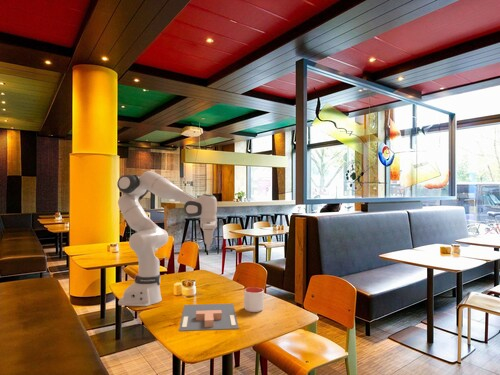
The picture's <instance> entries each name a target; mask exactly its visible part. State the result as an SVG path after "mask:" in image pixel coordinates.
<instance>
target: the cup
mask: <svg viewBox="0 0 500 375" xmlns="http://www.w3.org/2000/svg"><path fill="white" fill-rule="evenodd" d="M243 293H244V296H243V298H244V299H243V300H244V302H243V303H244V305H243V308H244V309H245V311H247V312H250V313H258V312H262V311H263V310H264V305H265V304H264V296H265V295H264V294H265V291H264V289H263V288H260V287H247V288H245V289H244V292H243Z"/></svg>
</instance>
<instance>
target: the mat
mask: <svg viewBox="0 0 500 375" xmlns="http://www.w3.org/2000/svg"><path fill="white" fill-rule="evenodd" d="M234 305H235V304H234V303H208V304H207V303H206V304H205V303H204V304H184V305H183V310H182V315H181V318H180V319H181V320H180V323H179V324H180V325H179V329H178V332H187V331H188V332H189V331H192V332H194V331H216V330H217V331H218V330H219V331H220V330H221V331H222V330H239V329H240V327H239V324H238V323H239V322H238V319H237V314H236V310H235V306H234ZM207 310H221V311H222V319H221V320H214V327H204V325H205V320H196V311H207Z"/></svg>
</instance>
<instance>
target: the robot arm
mask: <svg viewBox="0 0 500 375" xmlns="http://www.w3.org/2000/svg"><path fill="white" fill-rule="evenodd" d="M117 180H118V181H117V188H118V190H119V191H121V193H123V194H122V196H120V198H119V199H118V201H117V205H118V208H119V210H120V213H121V214H122V216H123V218H124V220H125V221H126V223H127V224H128V227H129V228H130V229H131V230H133V231H135V232H134V233H133V234H131V236H130V237H129V241H128V242H129V247H130V249H131V251H133V252H135V254H136V257H137V261H138V273H136V274H135V275H134V282H133V283H131V284H130V285H129V286H128V287H127V288H126V289H124V291H123V295H122V297H121V298H119V300H118V302H117V304H118V306H125V307H126V306H128V307H149V306H151V305H153V304H154V305H155V304H158V303H160V302H162V300H163V298H162V294H161V274H160V266H161V265H160V264H161V262H160V259H159V258H158V257H157V256H156V255H155V249H158V248H159V249H160V248H162V247H163V246H165V245H167V243H168V241H169V239H170V238H169V233H168V231H167V230H165V229H163V228H161V227H160V226H158V224H156V223H155V222H153V220H152V219H151V218H150V217H149V215H148V214H147V213H146V211H145V210H144V208H143V207H142V205H141V204H140V202H139V201H141V200H142V199H143V198H145V196H146V195H148V193H149V192H150V193H152V194H153V195H155V196H157V197H159V198H161V199H166V200H175V201H179V202H180V203H182V204H184V206H183V212H184V215H185V216H186V217H188V218H193V219H194V218H200V224H199V226H200V227H199V228H201V229H202V231H203V241H204V244H205V245H206V249H205V250H206V251H211V245H212V244H213V240H214V239H213V238H214V231H215V230H216V228H217V226H218V217H217V212H218V200H217V197H216V196H215V195H212V194H208V193H202V195H200V196H199V197H195V196H193V195H191V194H189V193H188V192H187V191H185V190H182V189H181V188H180V187H178V186H177V185H176V184H174V183H172V182H171V181H170V180H169V179H168V178H166V177H164V176H163V175H161V174H159V173H158V172H155V171H152V170H146V171H144V172H143V173H142V174H141V175H140V176H138V174H124V175H121V176H120V177H119V178H118V179H117Z"/></svg>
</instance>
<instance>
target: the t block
mask: <svg viewBox="0 0 500 375" xmlns="http://www.w3.org/2000/svg"><path fill="white" fill-rule="evenodd" d="M221 319H222V311H221V310H207V311H196V320H205V325H204V327H214V320H221Z"/></svg>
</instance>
